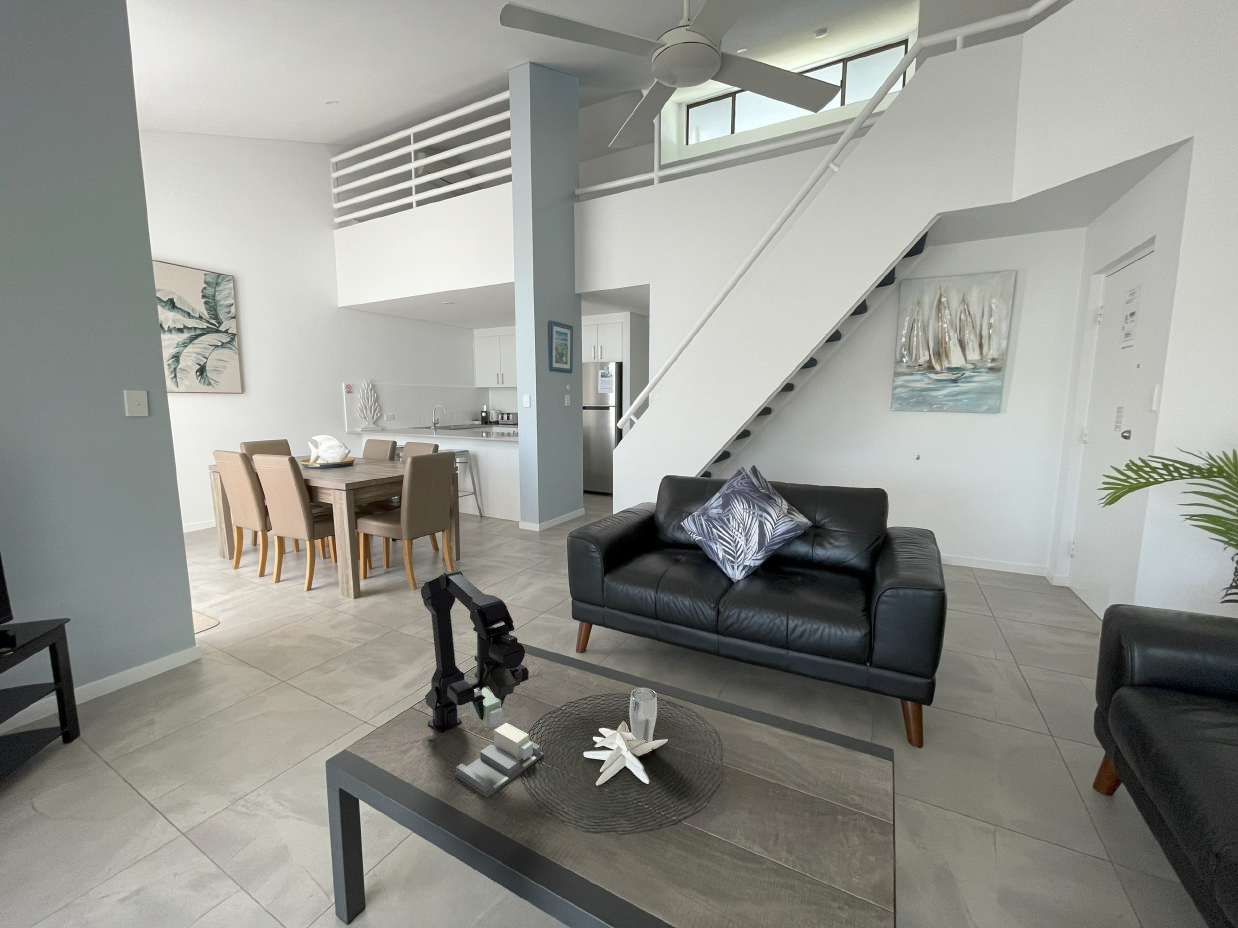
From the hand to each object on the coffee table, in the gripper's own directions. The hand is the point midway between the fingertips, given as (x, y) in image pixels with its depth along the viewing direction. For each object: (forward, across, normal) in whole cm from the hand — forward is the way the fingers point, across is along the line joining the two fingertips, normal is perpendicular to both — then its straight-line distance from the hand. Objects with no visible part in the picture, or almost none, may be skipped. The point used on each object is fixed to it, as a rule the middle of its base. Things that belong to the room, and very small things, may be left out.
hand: (489, 715), depth 125 cm
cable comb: (+12, +2, -2) cm, 13 cm away
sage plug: (+1, 0, +1) cm, 2 cm away
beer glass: (+13, +32, -20) cm, 40 cm away
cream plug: (+12, +6, -1) cm, 13 cm away
